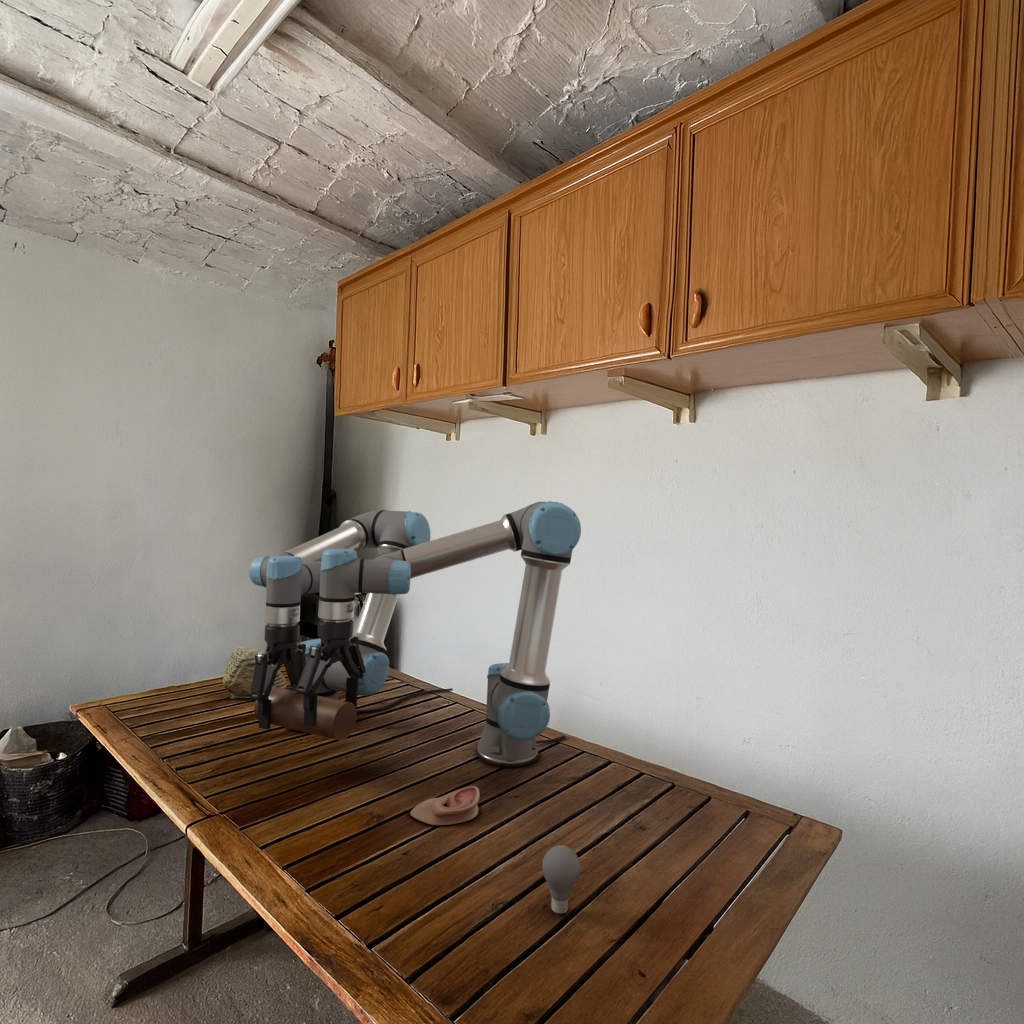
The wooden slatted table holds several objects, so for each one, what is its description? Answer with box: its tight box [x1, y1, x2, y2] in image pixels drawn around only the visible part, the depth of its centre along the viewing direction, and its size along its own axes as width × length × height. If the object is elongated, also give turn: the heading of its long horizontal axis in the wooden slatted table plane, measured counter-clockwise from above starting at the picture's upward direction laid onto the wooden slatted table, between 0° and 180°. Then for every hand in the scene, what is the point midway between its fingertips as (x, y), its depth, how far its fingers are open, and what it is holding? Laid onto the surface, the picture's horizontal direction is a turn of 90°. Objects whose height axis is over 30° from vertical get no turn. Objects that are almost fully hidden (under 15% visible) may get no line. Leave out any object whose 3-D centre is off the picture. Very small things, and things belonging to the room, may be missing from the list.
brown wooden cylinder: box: [253, 686, 358, 742], centre depth 142 cm, size 22×8×8 cm, turn 66°
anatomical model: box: [409, 785, 481, 826], centre depth 129 cm, size 13×4×12 cm
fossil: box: [222, 646, 288, 699], centre depth 198 cm, size 9×18×15 cm, turn 132°
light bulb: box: [541, 844, 581, 914], centre depth 99 cm, size 6×6×10 cm
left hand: (278, 721), depth 146 cm, fingers closed on brown wooden cylinder, 8 cm apart
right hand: (331, 715), depth 139 cm, fingers open, 13 cm apart
